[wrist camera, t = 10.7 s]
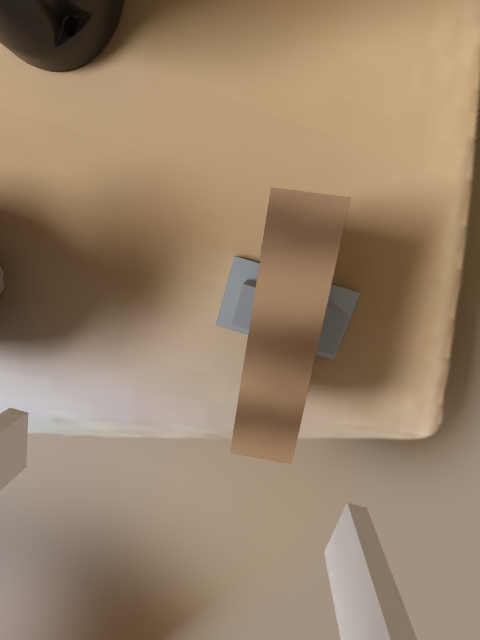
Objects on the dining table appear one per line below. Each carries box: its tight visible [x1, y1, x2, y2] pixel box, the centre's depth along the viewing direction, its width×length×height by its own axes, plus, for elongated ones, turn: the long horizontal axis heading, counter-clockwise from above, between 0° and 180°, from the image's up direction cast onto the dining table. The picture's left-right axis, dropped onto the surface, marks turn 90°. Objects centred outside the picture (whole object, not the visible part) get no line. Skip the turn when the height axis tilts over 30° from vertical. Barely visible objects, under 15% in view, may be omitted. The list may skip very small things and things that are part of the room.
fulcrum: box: [216, 256, 360, 360], centre depth 28 cm, size 8×14×6 cm, turn 74°
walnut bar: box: [230, 187, 350, 464], centre depth 22 cm, size 20×5×6 cm, turn 172°
